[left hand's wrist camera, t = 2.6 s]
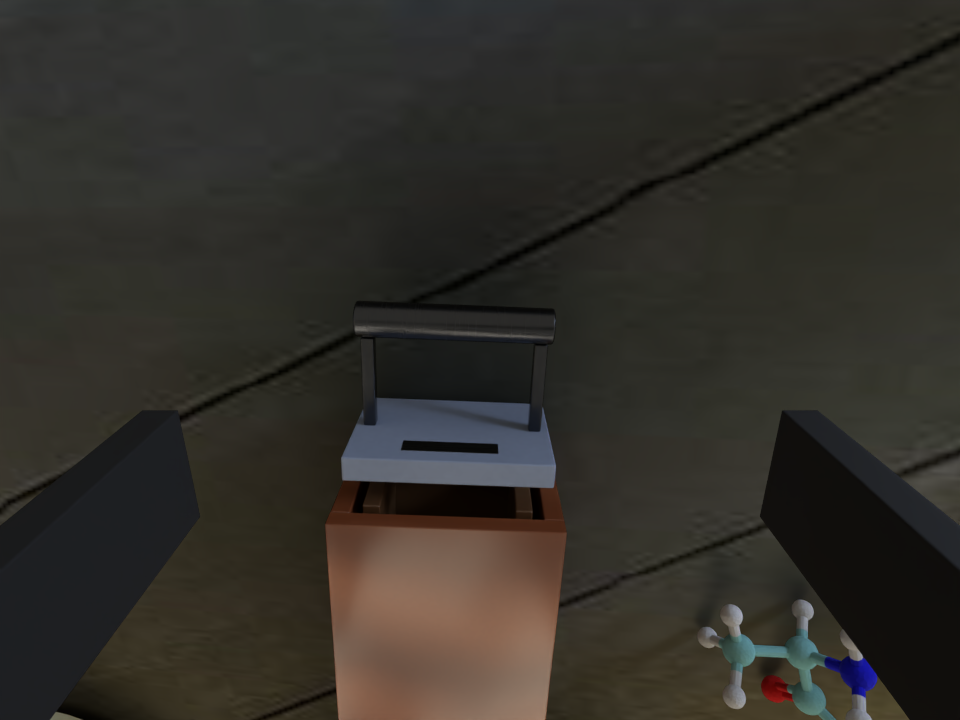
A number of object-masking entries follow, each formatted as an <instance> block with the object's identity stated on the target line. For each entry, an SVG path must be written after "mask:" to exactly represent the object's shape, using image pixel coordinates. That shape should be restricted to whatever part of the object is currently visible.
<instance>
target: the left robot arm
mask: <svg viewBox="0 0 960 720" xmlns="http://www.w3.org/2000/svg"><path fill="white" fill-rule="evenodd" d="M199 517H200V514H199V509H198V504H197V499H196V495H195V490H194V485H193V480H192V476H191V471H190V466H189V461H188V457H187V452H186V447H185V443H184V438H183V433H182V428H181V424H180V419H179V414H178V411H141V412H140V413H139V414H138V415H136V416H135V417H134V418H133V419H131V420H130V421H129V422H128V423H126V424H125V425H124V426H123V427H122V428H120V429H119V430H118V431H117V432H115V433H114V434H113V435H112V436H110V437H109V438H108V439H107V440H105V441H104V442H103V443H102V444H101V445H99V446H98V447H97V448H96V449H94V450H93V451H92V452H91V453H89V454H88V455H87V456H86V457H84V458H83V459H82V460H81V461H80V462H78V463H77V464H76V465H75V466H73V467H72V468H71V469H70V470H68V471H67V472H66V473H65V474H63V475H62V476H61V477H60V478H59V479H57V480H56V481H55V482H54V483H52V484H51V485H50V486H49V487H47V488H46V489H45V490H44V491H43V492H41V493H40V494H39V495H38V496H36V497H35V498H34V499H33V500H31V501H30V502H29V503H28V504H26V505H25V506H24V507H23V508H22V509H20V510H19V511H18V512H17V513H15V514H14V515H13V516H12V517H10V518H9V519H8V520H7V521H5V522H4V523H3V524H2V525H1V526H0V720H50V719H51V718H52V716H53V715H54V714H55V712H56V711H57V710H58V708H59V707H60V706H61V704H62V703H63V702H64V700H65V699H66V697H67V696H68V695H69V693H70V692H71V691H72V689H73V688H74V687H75V685H76V684H77V683H78V681H79V680H80V679H81V677H82V676H83V674H84V673H85V672H86V670H87V669H88V668H89V666H90V665H91V664H92V662H93V661H94V660H95V658H96V657H97V655H98V654H99V653H100V651H101V650H102V649H103V647H104V646H105V645H106V643H107V642H108V641H109V639H110V638H111V636H112V635H113V634H114V632H115V631H116V630H117V628H118V627H119V626H120V624H121V623H122V622H123V620H124V619H125V618H126V616H127V615H128V613H129V612H130V611H131V609H132V608H133V607H134V605H135V604H136V603H137V601H138V600H139V599H140V597H141V596H142V594H143V593H144V592H145V590H146V589H147V588H148V586H149V585H150V584H151V582H152V581H153V580H154V578H155V577H156V576H157V574H158V573H159V571H160V570H161V569H162V567H163V566H164V565H165V563H166V562H167V561H168V559H169V558H170V557H171V555H172V554H173V552H174V551H175V550H176V548H177V547H178V546H179V544H180V543H181V542H182V540H183V539H184V538H185V536H186V535H187V534H188V532H189V531H190V529H191V528H192V527H193V525H194V524H195V523H196V521H197V520H198V519H199ZM760 517H761V519H762V520H763V521H764V523H765V524H766V525H767V527H768V528H769V529H770V531H771V532H772V534H773V535H774V536H775V538H776V539H777V540H778V542H779V543H780V544H781V546H782V547H783V548H784V550H785V551H786V552H787V554H788V555H789V557H790V558H791V559H792V561H793V562H794V563H795V565H796V566H797V567H798V569H799V570H800V571H801V573H802V574H803V576H804V577H805V578H806V580H807V581H808V582H809V584H810V585H811V586H812V588H813V589H814V590H815V592H816V593H817V594H818V596H819V597H820V599H821V600H822V601H823V603H824V604H825V605H826V607H827V608H828V609H829V611H830V612H831V613H832V615H833V616H834V618H835V619H836V620H837V622H838V623H839V624H840V626H841V627H842V628H843V630H844V631H845V632H846V634H847V635H848V636H849V638H850V639H851V641H852V642H853V643H854V645H855V646H856V647H857V649H858V650H859V651H860V653H861V654H862V655H863V657H864V658H865V660H866V661H867V662H868V664H869V665H870V666H871V668H872V669H873V670H874V672H875V673H876V674H877V676H878V677H879V679H880V680H881V681H882V683H883V684H884V685H885V687H886V688H887V689H888V691H889V692H890V693H891V695H892V696H893V697H894V699H895V700H896V702H897V703H898V704H899V706H900V707H901V708H902V710H903V711H904V712H905V714H906V715H907V716H908V718H909V719H910V720H960V526H959V525H958V524H957V523H956V522H955V521H953V520H952V519H951V518H950V517H948V516H947V515H946V514H945V513H943V512H942V511H941V510H940V509H938V508H937V507H936V506H935V505H934V504H932V503H931V502H930V501H929V500H927V499H926V498H925V497H924V496H922V495H921V494H920V493H919V492H917V491H916V490H915V489H914V488H913V487H911V486H910V485H909V484H908V483H906V482H905V481H904V480H903V479H901V478H900V477H899V476H898V475H896V474H895V473H894V472H893V471H892V470H890V469H889V468H888V467H887V466H885V465H884V464H883V463H882V462H880V461H879V460H878V459H877V458H876V457H874V456H873V455H872V454H871V453H869V452H868V451H867V450H866V449H864V448H863V447H862V446H861V445H859V444H858V443H857V442H856V441H855V440H853V439H852V438H851V437H850V436H848V435H847V434H846V433H845V432H843V431H842V430H841V429H840V428H838V427H837V426H836V425H835V424H834V423H832V422H831V421H830V420H829V419H827V418H826V417H825V416H824V415H822V414H821V413H820V412H819V411H782V414H781V419H780V424H779V428H778V433H777V438H776V443H775V447H774V452H773V457H772V461H771V466H770V471H769V476H768V480H767V485H766V490H765V495H764V499H763V504H762V509H761V514H760Z"/></svg>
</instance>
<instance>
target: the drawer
mask: <svg viewBox="0 0 960 720" xmlns="http://www.w3.org/2000/svg"><path fill="white" fill-rule="evenodd" d="M555 328H556V315H555V310H554V309H551V308H526V307H501V306H476V305H450V304H425V303H400V302H375V301H357V302H356V304H355V307H354V312H353V329H354V333H355V336H357V337H361V365H362V392H363V410H362V412H361V415H360V417H359V419H358V421H357V424H356V426H355V428H354V430H353V433H352V435H351V437H350V439H349V441H348V444H347V446H346V448H345V450H344V453H343V455H342V457H341V467H342V480H345V481H371V482H370V485H369V488H368V491H367V494H366V497H365V500H364V503H363V513H368V514H395V515H423V516H450V517H477V518H505V519H532V516H533V510H532V502H531V495H530V487H534V488H553V487H554V482H555V472H556V464H555V459H554V455H553V450H552V446H551V441H550V437H549V432H548V428H547V423H546V419H545V414H544V410H543V397H544V386H545V374H546V363H547V352H548V345H547V344H553V342H554V338H555ZM375 338H400V339H425V340H451V341H476V342H502V343H527V344H534V350H533V363H532V376H531V389H530V402H529V404H522V403H496V402H470V401H444V400H418V399H392V398H377V378H376V341H375Z"/></svg>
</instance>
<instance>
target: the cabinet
mask: <svg viewBox="0 0 960 720" xmlns="http://www.w3.org/2000/svg"><path fill="white" fill-rule="evenodd" d="M370 482H371V481H345V480H343V483H342V485H341V488H340V490H339V493H338V495H337V497H336V500H335V502H334V505H333V507H332V510H331V512H330V514H329V516H328V518H327V521H326V523H325V532H326V546H327V561H328V575H329V590H330V605H331V619H332V634H333V648H334V663H335V677H336V692H337V707H338V720H546V712H547V703H548V695H549V686H550V677H551V668H552V659H553V651H554V642H555V633H556V624H557V616H558V607H559V598H560V589H561V580H562V572H563V563H564V554H565V545H566V536H567V532H566V527H565V522H564V518H563V513H562V509H561V504H560V499H559V494H558V490H557V485H556V480H555V482H554V487H553V488H534V487H530V495H531V502H532V510H533V516H532V519H505V518H477V517H450V516H423V515H395V514H368V513H363V503H364V500H365V497H366V494H367V491H368V488H369V485H370Z"/></svg>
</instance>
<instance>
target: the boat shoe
mask: <svg viewBox="0 0 960 720" xmlns="http://www.w3.org/2000/svg"><path fill="white" fill-rule="evenodd" d="M50 720H82V719H79V718H76V717H73V716H70V715H67V714H63V713H58V712H55V714H54V715H53V716H52V718H51V719H50Z"/></svg>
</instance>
